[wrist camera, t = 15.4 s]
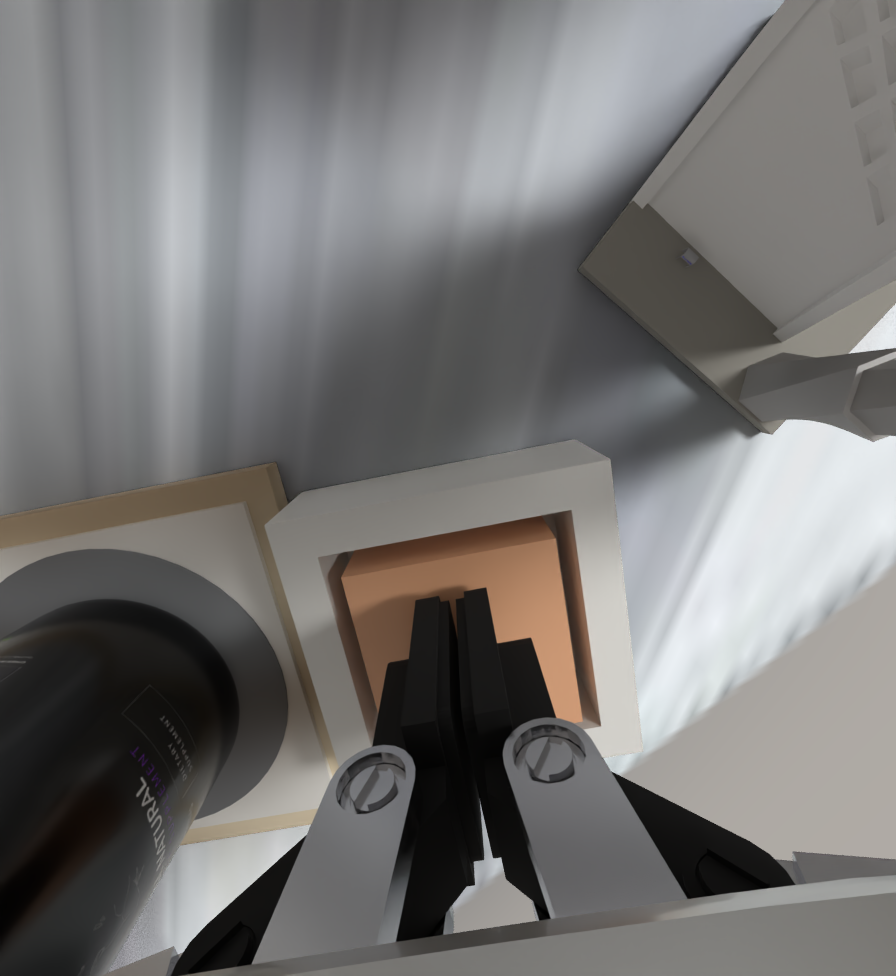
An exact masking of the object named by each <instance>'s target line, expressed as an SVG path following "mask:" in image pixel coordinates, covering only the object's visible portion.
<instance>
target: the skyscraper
mask: <svg viewBox="0 0 896 976" xmlns="http://www.w3.org/2000/svg"><path fill="white" fill-rule="evenodd" d="M578 271H580V272H581V273H582V274H583V275H584V276H585V277H586V278H587V279H589V280H590V281H591V282H592V283H593V284H594V285H595V286H597V287H598V288H599V289H600V290H601V291H602V292H603V293H604V294H606V295H607V296H608V297H609V298H610V299H611V300H612V301H614V302H615V303H616V304H617V305H618V306H619V307H620V308H621V309H623V310H624V311H625V312H626V313H627V314H628V315H629V316H631V317H632V318H633V319H634V320H635V321H636V322H637V323H638V324H640V325H641V326H642V327H643V328H644V329H645V330H646V331H648V332H649V333H650V334H651V335H652V336H653V337H654V338H655V339H657V340H658V341H659V342H660V343H661V344H662V345H663V346H665V347H666V348H667V349H668V350H669V351H670V352H671V353H672V354H674V355H675V356H676V357H677V358H678V359H679V360H680V361H682V362H683V363H684V364H685V365H686V366H687V367H688V368H689V369H691V370H692V371H693V372H694V373H695V374H696V375H697V376H699V377H700V378H701V379H702V380H703V381H704V382H705V383H706V384H708V385H709V386H710V387H711V388H712V389H713V390H714V391H716V392H717V393H718V394H719V395H720V396H721V397H722V398H723V399H725V400H726V401H727V402H728V403H729V404H730V405H731V406H733V407H734V408H735V409H736V410H737V411H738V412H739V413H740V414H742V415H743V416H744V417H745V418H746V419H747V420H748V421H750V422H751V423H752V424H753V425H754V426H755V427H756V428H757V429H759V430H760V431H761V432H762V433H767V434H773V433H774V432H775V431H776V430H777V429H778V428H779V427H780V426H781V425H782V424H783V422H784V421H785V420H788V419H800V420H811V421H817V422H821V423H826V424H830V425H833V426H836V427H838V428H841V429H844V430H846V431H849V432H851V433H853V434H856V435H858V436H860V437H863V438H865V439H867V440H870V441H872V442H875V441H877V440H880V439H882V438H885V437H888V436H896V348H893V349H885V350H876V351H868V352H860V353H851V354H848V353H849V352H850V351H851V350H852V349H853V348H854V347H855V346H856V345H857V344H858V343H859V342H860V341H861V340H862V339H863V337H864V336H865V335H866V334H867V333H868V332H869V331H870V330H871V329H872V328H873V327H874V326H875V325H876V324H877V323H878V322H879V320H880V319H881V318H882V317H883V316H884V315H885V314H886V313H887V312H888V311H889V310H890V309H891V308H892V307H893V306H894V305H895V303H896V0H785V1H784V3H783V4H782V5H781V6H780V8H779V9H778V10H777V11H776V13H775V14H774V15H773V17H772V18H771V19H770V20H769V22H768V23H767V24H766V25H765V27H764V28H763V29H762V31H761V32H760V33H759V34H758V36H757V37H756V38H755V39H754V41H753V42H752V43H751V45H750V46H749V47H748V48H747V50H746V51H745V52H744V53H743V55H742V56H741V57H740V59H739V60H738V61H737V63H736V64H735V65H734V66H733V68H732V69H731V70H730V72H729V73H728V74H727V76H726V77H725V78H724V80H723V81H722V82H721V84H720V85H719V86H718V87H717V89H716V90H715V91H714V93H713V94H712V95H711V97H710V98H709V99H708V101H707V102H706V103H705V104H704V106H703V107H702V108H701V110H700V111H699V112H698V114H697V115H696V116H695V118H694V119H693V120H692V122H691V123H690V124H689V125H688V127H687V128H686V129H685V131H684V132H683V133H682V135H681V136H680V137H679V139H678V140H677V141H676V143H675V144H674V145H673V146H672V148H671V149H670V150H669V152H668V153H667V154H666V156H665V157H664V158H663V160H662V161H661V162H660V164H659V165H658V166H657V167H656V169H655V170H654V171H653V173H652V174H651V175H650V177H649V178H648V179H647V180H646V182H645V183H644V184H643V186H642V187H641V188H640V189H639V191H638V192H637V193H636V195H635V196H634V197H633V199H632V200H631V201H630V202H629V204H628V205H627V206H626V208H625V209H624V210H623V211H622V213H621V214H620V215H619V217H618V218H617V219H616V220H615V222H614V223H613V224H612V226H611V227H610V228H609V230H608V231H607V232H606V233H605V235H604V236H603V237H602V239H601V240H600V241H599V242H598V244H597V245H596V246H595V248H594V249H593V250H592V252H591V253H590V254H589V255H588V257H587V258H586V259H585V261H584V262H583V263H582V264H581V266H580V267H579V268H578Z"/></svg>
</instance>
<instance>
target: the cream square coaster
mask: <svg viewBox="0 0 896 976" xmlns="http://www.w3.org/2000/svg"><path fill="white" fill-rule="evenodd" d="M287 505H288V501H287V498H286V495H285V491H284V488H283V484H282V481H281V477H280V474H279V471H278V467H277V464H276V462H273V463H268V464H263V465H258V466H253V467H248V468H243V469H238V470H233V471H228V472H222V473H217V474H212V475H207V476H202V477H197V478H192V479H187V480H182V481H177V482H172V483H166V484H161V485H156V486H151V487H146V488H141V489H136V490H131V491H126V492H121V493H116V494H110V495H105V496H100V497H95V498H90V499H85V500H80V501H75V502H70V503H65V504H60V505H55V506H49V507H44V508H39V509H34V510H29V511H24V512H19V513H14V514H9V515H4V516H0V639H2V638H4V637H5V636H7V635H9V634H10V633H12V632H14V631H16V630H18V629H19V628H21V627H23V626H24V625H26V624H28V623H30V622H31V621H33V620H35V619H37V618H38V617H40V616H42V615H44V614H46V613H49V612H51V611H53V610H55V609H57V608H60V607H63V606H65V605H69V604H73V603H77V602H81V601H87V600H94V599H122V600H130V601H135V602H140V603H145V604H148V605H151V606H154V607H157V608H160V609H162V610H165V611H168V612H170V613H172V614H174V615H176V616H178V617H179V618H181V619H183V620H184V621H186V622H188V623H189V624H190V625H192V626H193V627H194V628H196V629H197V630H198V631H199V632H201V633H202V634H203V635H204V636H205V637H206V638H207V639H208V640H209V641H210V642H211V643H212V644H213V645H214V647H215V648H216V649H217V650H218V652H219V653H220V654H221V656H222V657H223V659H224V660H225V662H226V664H227V666H228V668H229V670H230V672H231V674H232V676H233V679H234V681H235V685H236V688H237V693H238V698H239V707H240V719H239V727H238V733H237V737H236V740H235V743H234V746H233V748H232V750H231V753H230V755H229V757H228V759H227V761H226V763H225V765H224V767H223V769H222V770H221V772H220V774H219V776H218V778H217V779H216V782H215V784H214V785H213V787H212V789H211V791H210V792H209V794H208V796H207V798H206V800H205V801H204V803H203V805H202V807H201V808H200V810H199V812H198V814H197V816H196V817H195V819H194V821H193V823H192V824H191V826H190V828H189V830H188V832H187V833H186V835H185V837H184V839H183V840H182V842H181V844H180V845H186V844H192V843H198V842H204V841H210V840H217V839H223V838H229V837H235V836H241V835H247V834H254V833H260V832H266V831H272V830H278V829H285V828H291V827H297V826H303V825H309V824H312V822H313V819H314V817H315V815H316V812H317V810H318V808H319V805H320V803H321V801H322V798H323V796H324V794H325V791H326V789H327V787H328V784H329V782H330V780H331V779H332V777H333V775H334V774H335V772H336V770H337V769H338V768H339V766H338V763H337V760H336V756H335V753H334V750H333V747H332V743H331V740H330V737H329V734H328V731H327V727H326V724H325V721H324V718H323V714H322V711H321V708H320V705H319V701H318V698H317V695H316V692H315V688H314V685H313V682H312V679H311V675H310V672H309V669H308V666H307V662H306V659H305V656H304V653H303V649H302V646H301V643H300V640H299V637H298V633H297V630H296V627H295V624H294V620H293V617H292V614H291V611H290V607H289V604H288V601H287V598H286V594H285V591H284V588H283V585H282V581H281V578H280V575H279V572H278V568H277V565H276V562H275V559H274V556H273V552H272V549H271V546H270V543H269V539H268V536H267V533H266V530H265V526H264V525H265V524H266V523H267V522H269V521H270V520H271V519H272V518H273V517H274V516H275V515H277V514H278V513H279V512H280V511H281V510H282V509H283V508H284V507H286V506H287Z"/></svg>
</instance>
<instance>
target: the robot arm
mask: <svg viewBox="0 0 896 976" xmlns="http://www.w3.org/2000/svg"><path fill="white" fill-rule="evenodd" d="M456 616H457V634H456V629H455V625H454V620H453V616H452V611H451V606H450V603H449V600H448V601H443V602H441V600H440V597H439V596H435V597H430V598H424V599H419V600H416V601H415V609H414V617H413V626H412V634H411V643H410V651H409V659H406V660H400V661H394V662H390V663H388V665H387V669H386V674H385V680H384V685H383V690H382V696H381V701H380V707H379V712H378V717H377V723H376V728H375V734H374V739H373V745H372V747H370V748H367V749H365V750H362V751H360V752H358V753H356V754H355V755H353V756H352V757H350V758H349V759H347V760H346V761H345V762H344V763H343V764H342V765H341V766H340V767H339V768H338V769H337V770H336V772H335V774H334V775H333V777H332V779H331V780H330V782H329V784H328V787H327V789H326V791H325V794H324V796H323V798H322V801H321V803H320V805H319V808H318V810H317V812H316V815H315V817H314V819H313V822H312V824H311V826H310V829H309V831H308V833H307V835H306V836H305V837H304V838H303V839H302V840H300V841H299V842H298V843H297V844H296V845H295V846H294V847H293V848H292V849H290V850H289V851H288V852H287V853H286V854H285V855H284V856H283V857H282V858H280V859H279V860H278V861H277V862H276V863H275V864H274V865H273V866H272V867H270V868H269V869H268V870H267V871H266V872H265V873H264V874H263V875H262V876H260V877H259V878H258V879H257V880H256V881H255V882H254V883H253V884H252V885H250V886H249V887H248V888H247V889H246V890H245V891H244V892H243V893H242V894H240V895H239V896H238V897H237V898H236V899H235V900H234V901H233V902H232V903H230V904H229V905H228V906H227V907H226V908H225V909H224V910H223V911H222V912H220V913H219V914H218V915H217V916H216V917H215V918H214V919H213V920H212V921H210V922H209V923H208V924H207V925H206V926H205V927H204V928H203V929H202V930H201V931H200V932H199V933H198V935H197V936H196V937H195V938H194V939H193V940H192V941H191V942H190V943H189V945H188V946H187V948H186V949H185V951H184V952H183V953H181V954H177V952H176V950H175V948H174V946H173V947H171V948H168V949H166V950H164V951H161V952H159V953H156V954H154V955H151V956H149V957H146V958H144V959H141V960H139V961H136V962H134V963H131V964H129V965H126V966H124V967H122V968H119V969H117V970H114V971H112V972H109V973H107V974H104V975H102V976H896V860H895V859H881V858H869V857H856V856H844V855H830V854H817V853H805V852H793V861H787V860H775V859H774V858H773V857H772V856H771V855H770V854H768V853H767V852H765V851H764V850H762V849H761V848H759V847H757V846H756V845H754V844H753V843H751V842H750V841H748V840H746V839H744V838H742V837H740V836H738V835H736V834H734V833H732V832H730V831H728V830H726V829H724V828H722V827H720V826H718V825H716V824H714V823H712V822H710V821H708V820H706V819H704V818H702V817H700V816H698V815H696V814H694V813H692V812H690V811H688V810H686V809H684V808H683V807H681V806H679V805H677V804H675V803H673V802H670V801H668V800H667V799H665V798H663V797H661V796H659V795H656V794H655V793H653V792H651V791H649V790H647V789H645V788H643V787H641V786H639V785H637V784H635V783H633V782H631V781H629V780H627V779H625V778H623V777H621V776H619V775H617V774H615V773H613V772H611V771H610V769H609V767H608V766H607V764H606V762H605V761H604V759H603V757H602V756H601V754H600V752H599V751H598V749H597V747H596V746H595V744H594V742H593V741H592V739H591V738H590V737H589V735H588V734H587V733H586V732H585V731H584V730H583V729H582V728H580V727H579V726H577V725H576V724H574V723H573V722H570V721H566V720H563V719H560V718H556V715H555V712H554V709H553V705H552V702H551V699H550V696H549V693H548V689H547V686H546V683H545V680H544V677H543V673H542V670H541V667H540V664H539V661H538V657H537V654H536V651H535V648H534V645H533V642H532V639H531V638H525V639H519V640H514V641H508V642H502V643H497V640H496V635H495V630H494V624H493V619H492V614H491V609H490V604H489V598H488V593H487V588H486V587H485V588H480V589H474V590H469V591H464V598H459V599H456ZM457 637H458V639H457ZM480 802H481V807H482V811H483V815H484V820H485V824H486V829H487V833H488V838H489V842H490V847H491V851H492V855H493V858H499V857H501V858H502V863H503V868H504V872H505V877H506V879H507V880H508V881H509V882H510V883H511V884H513V885H514V886H515V887H516V888H518V889H519V890H520V891H521V892H522V893H524V894H525V895H526V896H527V897H529V898H530V899H531V900H532V904H533V909H534V914H535V918H536V921H534V922H527V923H520V924H514V925H507V926H500V927H493V928H487V929H480V930H473V931H467V932H460V933H453V931H454V912H453V908H452V905H453V903H454V902H455V901H456V899H457V898H458V897H459V896H460V894H461V893H462V892H463V890H464V889H465V888H466V886H472V885H475V878H474V861H480V860H484V848H483V835H482V823H481V811H480Z"/></svg>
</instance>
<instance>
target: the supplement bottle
mask: <svg viewBox="0 0 896 976" xmlns="http://www.w3.org/2000/svg"><path fill="white" fill-rule="evenodd" d="M239 719H240V707H239V698H238V693H237V688H236V685H235V681H234V679H233V676H232V674H231V672H230V670H229V668H228V666H227V664H226V662H225V660H224V659H223V657H222V656H221V654H220V653H219V652H218V650H217V649H216V648H215V647H214V645H213V644H212V643H211V642H210V641H209V640H208V639H207V638H206V637H205V636H204V635H203V634H202V633H201V632H199V631H198V630H197V629H196V628H194V627H193V626H192V625H190V624H189V623H188V622H186V621H184V620H183V619H181V618H179V617H178V616H176V615H174V614H172V613H170V612H168V611H165V610H162V609H160V608H157V607H154V606H151V605H148V604H145V603H140V602H135V601H130V600H122V599H94V600H87V601H81V602H77V603H73V604H69V605H65V606H63V607H60V608H57V609H55V610H53V611H51V612H49V613H46V614H44V615H42V616H40V617H38V618H37V619H35V620H33V621H31V622H30V623H28V624H26V625H24V626H23V627H21V628H19V629H18V630H16V631H14V632H12V633H10V634H9V635H7V636H5V637H4V638H2V639H0V976H102V975H104V974H107V973H108V972H109V970H110V968H111V966H112V965H113V963H114V961H115V959H116V958H117V956H118V954H119V952H120V950H121V949H122V947H123V945H124V943H125V942H126V940H127V938H128V936H129V934H130V933H131V931H132V929H133V927H134V926H135V924H136V922H137V920H138V918H139V917H140V915H141V913H142V911H143V910H144V908H145V906H146V904H147V903H148V901H149V899H150V897H151V895H152V894H153V892H154V890H155V888H156V887H157V885H158V883H159V881H160V879H161V878H162V876H163V874H164V872H165V871H166V869H167V867H168V865H169V863H170V862H171V860H172V858H173V856H174V855H175V853H176V851H177V849H178V848H179V846H180V844H181V842H182V840H183V839H184V837H185V835H186V833H187V832H188V830H189V828H190V826H191V824H192V823H193V821H194V819H195V817H196V816H197V814H198V812H199V810H200V808H201V807H202V805H203V803H204V801H205V800H206V798H207V796H208V794H209V792H210V791H211V789H212V787H213V785H214V784H215V782H216V779H217V778H218V776H219V774H220V772H221V770H222V769H223V767H224V765H225V763H226V761H227V759H228V757H229V755H230V753H231V750H232V748H233V746H234V743H235V740H236V737H237V733H238V727H239Z"/></svg>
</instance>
